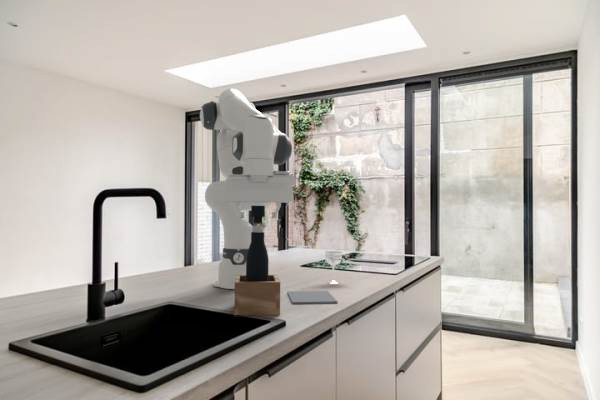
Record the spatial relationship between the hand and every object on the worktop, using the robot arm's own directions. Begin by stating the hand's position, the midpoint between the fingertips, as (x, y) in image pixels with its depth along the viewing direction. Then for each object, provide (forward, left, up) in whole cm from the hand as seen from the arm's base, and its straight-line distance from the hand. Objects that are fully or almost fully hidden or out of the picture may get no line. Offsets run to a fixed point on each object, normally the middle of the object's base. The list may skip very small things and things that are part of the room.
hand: (258, 218), depth 119 cm
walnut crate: (0, 0, -26) cm, 26 cm away
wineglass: (-41, +31, -27) cm, 58 cm away
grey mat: (-14, +18, -26) cm, 35 cm away
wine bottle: (0, 0, -27) cm, 27 cm away
